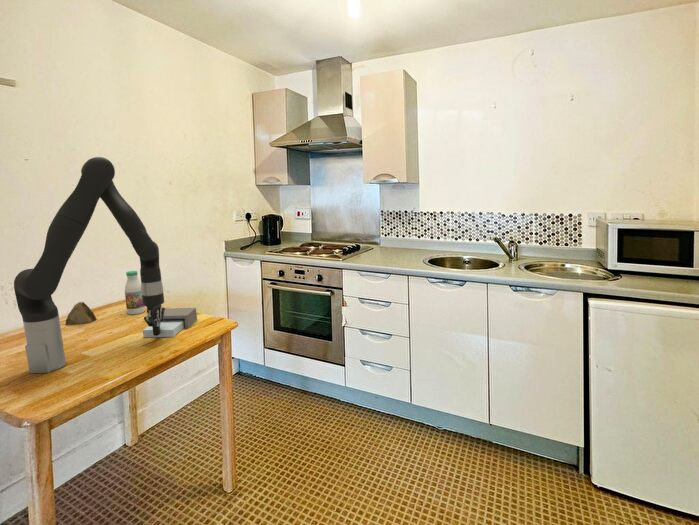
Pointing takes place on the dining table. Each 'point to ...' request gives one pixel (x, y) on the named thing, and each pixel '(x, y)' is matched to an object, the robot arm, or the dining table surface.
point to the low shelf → (181, 315)
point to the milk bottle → (133, 294)
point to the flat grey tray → (166, 328)
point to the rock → (80, 314)
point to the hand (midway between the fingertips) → (157, 334)
